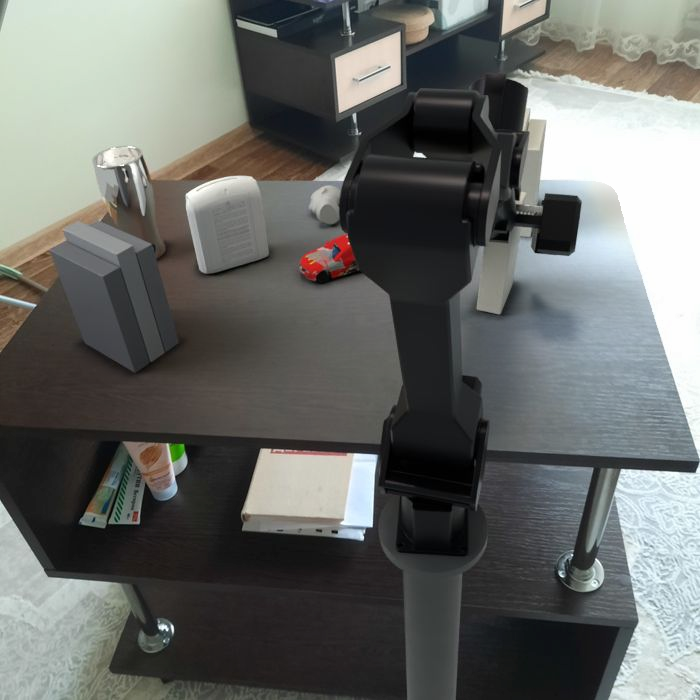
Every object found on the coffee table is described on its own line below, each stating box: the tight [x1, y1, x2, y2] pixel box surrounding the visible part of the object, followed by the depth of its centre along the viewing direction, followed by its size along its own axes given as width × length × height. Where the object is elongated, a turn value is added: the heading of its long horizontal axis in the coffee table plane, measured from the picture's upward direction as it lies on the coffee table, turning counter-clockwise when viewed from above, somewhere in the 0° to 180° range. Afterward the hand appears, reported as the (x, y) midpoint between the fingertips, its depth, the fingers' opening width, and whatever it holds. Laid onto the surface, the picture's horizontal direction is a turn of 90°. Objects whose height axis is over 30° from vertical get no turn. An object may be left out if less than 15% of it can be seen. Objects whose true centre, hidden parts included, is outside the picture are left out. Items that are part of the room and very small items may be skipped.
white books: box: [520, 107, 547, 238], centre depth 102 cm, size 10×7×14 cm
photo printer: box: [185, 175, 270, 275], centre depth 99 cm, size 10×4×12 cm, turn 117°
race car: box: [298, 233, 361, 284], centre depth 98 cm, size 13×5×4 cm, turn 111°
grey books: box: [49, 219, 180, 374], centre depth 85 cm, size 10×7×15 cm
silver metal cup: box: [92, 145, 167, 260], centre depth 101 cm, size 7×7×15 cm
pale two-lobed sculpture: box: [308, 185, 341, 226], centre depth 110 cm, size 4×8×5 cm
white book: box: [476, 192, 527, 315], centre depth 88 cm, size 7×3×13 cm, turn 158°
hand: (495, 237), depth 88 cm, fingers open, 9 cm apart
